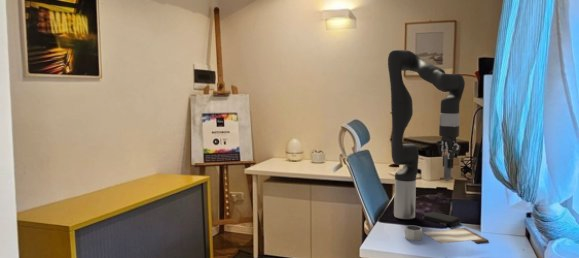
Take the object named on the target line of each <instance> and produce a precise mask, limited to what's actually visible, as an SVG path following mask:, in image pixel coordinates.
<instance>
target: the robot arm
mask: <svg viewBox="0 0 579 258" xmlns="http://www.w3.org/2000/svg"><path fill="white" fill-rule="evenodd" d="M387 68H388V75H389V83H390V85H389V86H390V97H391V98H390V99H391V102H390V103H391V106H390V107H391V126H392V128H391V130H392V131H391V132H392V133H391V135H392V136H391V159H392V163H394V165H397V166H402V165H404V167H403V168H402V169H399V170H398V171H395V174H394V193H393V194H394V195H393V197H394V198H393V199H394V201H393V215H394V217H395V218H397V219H401V220H412V219H415V218H416V198H417V197H416V193H417V192H416V191H417V189H416V188H417V175H418V170H419V159H420V157H419V155H420V154H419V149H418V146H417V145H416V144H415V143H403V142H404V135H405V131H406V128H407V127H408V125H409V123H410V121H411V120H412V118H413V112H414V109H413V99H412V96H411V93H410V91H409V90H408V88H407V87H406V85H405V83H404V79H403V72H405V71H410V72H415V73H417V74H418V76H419V77H420V78H421V79H422V80H423V81H425V82H427V83H429V84H432V85H433V86H434V87H435V88H436V89H437V90H439V91H441V92H444V93H448V94H447V97H444V98H442V99H441V100H440V115H439V124H438V125H439V126H438V131H439V132H438V136H439V137H441V138H440V140H437V142H436V143H437V148H438V154H439V156H441V157H442V167H443V168H444V155H445V151H446V153H447V156H448V159H447V168H451V169H453V168H454V159H457V158H458V157H459V155H460V151H461V148H462V145H461V144H458V142H457V138H458V137H459V136H460V124H461V123H460V122H461V121H460V120H461V119H460V118H461V117H460V104H461V100H462V98H463V97H462V96H463V94H464V90H465V86H466V85H465V84H466V83H465V82H466V81H465V78H464V76H462V74H459V73H446V72H445V70H444V69H443V68H440V67H438V66H437V65H434V64H431V63H429V62H427V61H425V60H424V59H422V58H421V57H419V56H418V55H417V54H416V53H414V52H412V51H411V50H408V49H392V50H391V51H390V52H389V53H388V58H387ZM402 71H403V72H402ZM450 153H451V155H450Z"/></svg>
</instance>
